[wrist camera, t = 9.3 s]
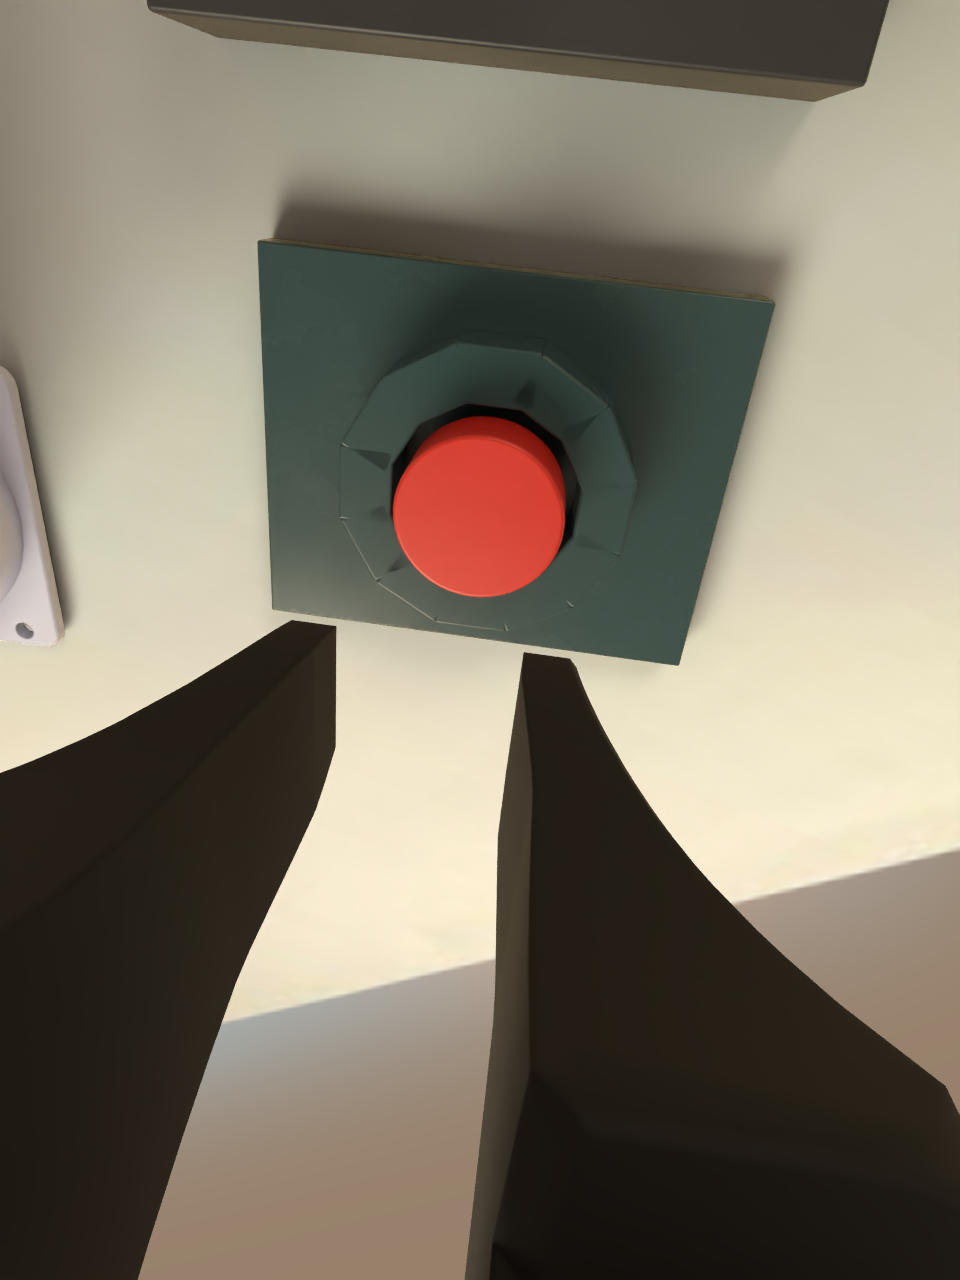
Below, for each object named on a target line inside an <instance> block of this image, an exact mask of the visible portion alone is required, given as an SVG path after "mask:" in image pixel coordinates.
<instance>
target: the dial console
mask: <svg viewBox="0 0 960 1280" xmlns="http://www.w3.org/2000/svg"><path fill="white" fill-rule="evenodd" d="M888 3H889V0H147V5H148V8H149V10H151V11H152V12H154V13H157V14H160V15H162V16H165V17H167V18H170V19H172V20H175V21H177V22H180V23H183V24H185V25H188V26H190V27H193V28H195V29H198V30H200V31H203V32H206V33H208V34H211V35H213V36H216V37H219V38H229V39H238V40H247V41H256V42H266V43H275V44H284V45H293V46H303V47H312V48H321V49H331V50H340V51H349V52H358V53H368V54H377V55H386V56H396V57H405V58H414V59H423V60H433V61H442V62H451V63H460V64H470V65H479V66H488V67H498V68H507V69H516V70H525V71H535V72H544V73H553V74H562V75H572V76H581V77H590V78H600V79H609V80H618V81H627V82H637V83H646V84H655V85H664V86H674V87H683V88H692V89H702V90H711V91H720V92H729V93H739V94H748V95H757V96H766V97H776V98H785V99H794V100H804V101H813V102H815V101H818V100H822V99H825V98H828V97H831V96H834V95H837V94H840V93H843V92H846V91H849V90H853V89H856V88H859V87H862V86H864V84H865V83H866V81H867V77H868V74H869V70H870V67H871V63H872V60H873V56H874V53H875V49H876V46H877V42H878V39H879V35H880V31H881V28H882V24H883V21H884V17H885V14H886V10H887V7H888Z"/></svg>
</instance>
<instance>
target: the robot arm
mask: <svg viewBox="0 0 960 1280" xmlns="http://www.w3.org/2000/svg"><path fill="white" fill-rule="evenodd" d="M24 623H25V624H28V625H29V626H30V627H31V628H32V630H33V631H30V630H29V629H28V628H26V626H25V624H24ZM64 634H65V629H64V624H63V619H62V613H61V608H60V603H59V598H58V593H57V588H56V583H55V578H54V572H53V567H52V562H51V557H50V552H49V547H48V542H47V536H46V531H45V526H44V521H43V516H42V511H41V506H40V501H39V495H38V490H37V485H36V480H35V475H34V470H33V465H32V459H31V454H30V449H29V444H28V439H27V434H26V429H25V424H24V418H23V413H22V408H21V403H20V398H19V393H18V388H17V385H16V382H15V379H14V378H13V376H12V375H11V374H10V372H9V371H7V370H6V369H5V368H3V367H2V366H0V641H7V642H14V643H21V644H28V645H35V646H42V647H52V646H54V645H56V644H57V643H58V642H59V641H60V640H62V638H63V637H64ZM335 747H336V626H330V625H323V624H316V623H309V622H302V621H294V620H291V621H289V622H288V623H286V624H284V625H282V626H280V627H279V628H277V629H275V630H274V631H272V632H271V633H269V634H267V635H266V636H264V637H263V638H261V639H259V640H258V641H256V642H255V643H253V644H252V645H250V646H248V647H247V648H245V649H244V650H242V651H240V652H239V653H237V654H236V655H234V656H233V657H231V658H229V659H228V660H226V661H224V662H223V663H221V664H220V665H218V666H216V667H215V668H213V669H211V670H210V671H208V672H206V673H205V674H203V675H202V676H200V677H198V678H197V679H195V680H193V681H192V682H190V683H188V684H187V685H185V686H183V687H181V688H180V689H178V690H176V691H174V692H172V693H170V694H169V695H167V696H165V697H163V698H161V699H159V700H158V701H156V702H154V703H152V704H150V705H149V706H147V707H145V708H143V709H141V710H139V711H138V712H136V713H134V714H132V715H130V716H128V717H127V718H125V719H123V720H121V721H119V722H117V723H115V724H113V725H111V726H109V727H107V728H105V729H103V730H101V731H99V732H97V733H94V734H92V735H90V736H88V737H86V738H84V739H82V740H79V741H77V742H75V743H73V744H70V745H68V746H66V747H63V748H61V749H59V750H57V751H54V752H52V753H50V754H47V755H45V756H43V757H41V758H38V759H36V760H33V761H31V762H28V763H26V764H23V765H21V766H18V767H15V768H13V769H10V770H7V771H4V772H2V773H0V1280H138V1277H139V1273H140V1270H141V1267H142V1263H143V1260H144V1257H145V1253H146V1250H147V1246H148V1243H149V1240H150V1237H151V1234H152V1231H153V1228H154V1225H155V1221H156V1218H157V1215H158V1212H159V1209H160V1206H161V1202H162V1199H163V1196H164V1193H165V1190H166V1187H167V1184H168V1181H169V1177H170V1174H171V1171H172V1168H173V1165H174V1162H175V1159H176V1155H177V1152H178V1149H179V1146H180V1143H181V1139H182V1136H183V1133H184V1131H185V1128H186V1125H187V1122H188V1119H189V1116H190V1113H191V1110H192V1107H193V1104H194V1101H195V1098H196V1095H197V1092H198V1089H199V1086H200V1083H201V1081H202V1078H203V1075H204V1071H205V1068H206V1066H207V1063H208V1060H209V1057H210V1054H211V1051H212V1048H213V1046H214V1043H215V1040H216V1037H217V1034H218V1032H219V1029H220V1026H221V1023H222V1020H223V1017H224V1015H225V1012H226V1009H227V1006H228V1003H229V1001H230V998H231V995H232V992H233V989H234V987H235V984H236V981H237V979H238V977H239V974H240V972H241V969H242V967H243V965H244V962H245V960H246V958H247V955H248V953H249V950H250V948H251V946H252V944H253V942H254V940H255V938H256V936H257V934H258V931H259V929H260V927H261V925H262V923H263V921H264V919H265V917H266V915H267V912H268V910H269V908H270V906H271V904H272V902H273V900H274V898H275V896H276V893H277V891H278V889H279V887H280V885H281V883H282V881H283V879H284V877H285V875H286V872H287V870H288V868H289V866H290V864H291V862H292V860H293V858H294V856H295V853H296V851H297V849H298V847H299V845H300V843H301V841H302V838H303V836H304V834H305V832H306V830H307V828H308V826H309V823H310V821H311V819H312V817H313V815H314V812H315V810H316V807H317V804H318V801H319V798H320V795H321V792H322V789H323V786H324V783H325V780H326V777H327V774H328V770H329V767H330V764H331V760H332V757H333V754H334V751H335ZM495 977H496V979H495V1002H494V1020H493V1030H492V1039H491V1048H490V1058H489V1067H488V1076H487V1086H486V1094H485V1104H484V1112H483V1122H482V1130H481V1131H482V1132H481V1139H480V1148H479V1157H478V1166H477V1176H476V1184H475V1193H474V1202H473V1211H472V1220H471V1228H470V1229H471V1230H470V1238H469V1246H468V1255H467V1263H466V1264H467V1265H466V1273H465V1280H960V1115H959V1113H958V1111H957V1109H956V1107H955V1105H954V1103H953V1101H952V1098H951V1096H950V1094H949V1092H948V1090H947V1088H946V1086H945V1085H944V1084H942V1083H941V1082H939V1081H938V1080H937V1079H936V1078H934V1077H933V1076H932V1075H930V1074H929V1073H928V1072H926V1071H925V1070H924V1069H923V1068H921V1067H920V1066H919V1065H918V1064H916V1063H915V1062H914V1061H912V1060H911V1059H910V1058H908V1057H907V1056H906V1055H905V1054H903V1053H902V1052H901V1051H899V1050H898V1049H897V1048H895V1047H894V1046H892V1044H890V1043H889V1042H888V1041H886V1040H885V1039H884V1038H883V1037H881V1036H880V1035H879V1034H877V1033H876V1032H875V1031H873V1030H872V1029H871V1028H870V1027H868V1026H867V1025H866V1024H864V1023H863V1022H862V1021H860V1020H859V1019H858V1018H857V1017H855V1016H854V1015H853V1014H851V1013H850V1012H849V1011H847V1010H846V1009H845V1008H844V1007H843V1006H841V1005H840V1004H839V1003H838V1002H836V1001H835V1000H834V999H833V998H832V997H831V996H829V995H828V994H827V993H826V992H825V991H824V990H823V989H821V988H820V987H819V986H818V985H817V984H816V983H814V982H813V981H812V980H811V979H810V978H809V977H808V976H807V975H805V974H804V973H803V972H802V971H801V970H799V968H797V967H796V966H795V965H794V964H793V963H792V962H790V961H789V960H788V959H787V958H786V957H785V956H784V955H783V954H781V952H779V951H778V950H777V949H776V948H775V947H774V946H773V945H772V944H771V943H770V942H769V941H768V940H767V939H766V938H765V937H763V935H761V934H760V933H759V932H758V931H757V930H756V929H755V928H754V927H753V926H752V925H751V924H750V923H749V922H748V921H747V920H746V919H745V918H744V917H743V916H742V914H740V912H739V911H738V910H737V909H736V908H735V907H734V906H733V905H732V904H731V903H730V902H729V901H728V900H727V899H726V898H725V897H724V896H723V895H722V894H721V893H720V892H719V891H718V890H717V889H716V888H715V887H714V886H713V885H712V884H711V882H710V881H709V880H708V879H707V878H706V877H705V876H704V875H703V873H702V872H701V871H700V870H699V869H698V868H697V867H696V865H695V864H694V863H693V862H692V861H691V859H690V858H689V857H688V856H687V854H686V853H685V852H684V851H683V849H682V848H681V847H680V846H679V844H678V843H677V842H676V841H675V839H674V838H673V837H672V836H671V834H670V833H669V832H668V830H667V829H666V828H665V826H664V825H663V824H662V822H661V821H660V819H659V818H658V817H657V815H656V814H655V812H654V811H653V810H652V808H651V807H650V805H649V804H648V802H647V801H646V799H645V798H644V796H643V795H642V793H641V792H640V790H639V789H638V787H637V786H636V784H635V783H634V781H633V779H632V778H631V776H630V775H629V773H628V771H627V770H626V768H625V766H624V765H623V763H622V761H621V760H620V758H619V756H618V754H617V753H616V751H615V749H614V747H613V745H612V744H611V742H610V740H609V738H608V737H607V735H606V733H605V731H604V729H603V727H602V725H601V723H600V721H599V720H598V718H597V715H596V713H595V711H594V709H593V707H592V705H591V703H590V701H589V699H588V696H587V694H586V692H585V689H584V687H583V685H582V682H581V679H580V677H579V674H578V671H577V668H576V666H575V665H574V664H573V662H572V661H571V660H570V659H568V658H561V657H554V656H547V655H539V654H532V653H525V652H524V654H523V661H522V668H521V675H520V681H519V688H518V695H517V702H516V709H515V715H514V722H513V729H512V736H511V743H510V749H509V756H508V763H507V770H506V777H505V785H504V793H503V801H502V809H501V816H500V824H499V832H498V858H497V914H496V976H495Z"/></svg>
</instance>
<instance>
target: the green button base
mask: <svg viewBox="0 0 960 1280" xmlns="http://www.w3.org/2000/svg"><path fill="white" fill-rule="evenodd" d="M258 266H259V291H260V315H261V340H262V365H263V389H264V414H265V439H266V463H267V488H268V513H269V537H270V562H271V587H272V609H273V610H279V611H286V612H293V613H301V614H308V615H315V616H322V617H330V618H337V619H344V620H351V621H358V622H366V623H373V624H380V625H387V626H395V627H402V628H409V629H416V630H424V631H431V632H438V633H445V634H452V635H460V636H467V637H474V638H481V639H489V640H496V641H503V642H510V643H518V644H525V645H532V646H539V647H546V648H554V649H561V650H568V651H575V652H583V653H590V654H597V655H604V656H611V657H619V658H626V659H633V660H640V661H648V662H655V663H662V664H669V665H677V666H678V665H679V663H680V660H681V656H682V652H683V648H684V645H685V641H686V637H687V633H688V630H689V626H690V622H691V618H692V615H693V611H694V607H695V603H696V600H697V596H698V592H699V588H700V585H701V581H702V577H703V573H704V570H705V566H706V562H707V558H708V555H709V551H710V547H711V543H712V540H713V536H714V532H715V528H716V525H717V521H718V517H719V513H720V510H721V506H722V502H723V498H724V495H725V491H726V487H727V483H728V480H729V476H730V472H731V468H732V465H733V461H734V457H735V453H736V450H737V446H738V442H739V438H740V435H741V431H742V427H743V423H744V420H745V416H746V412H747V408H748V405H749V401H750V397H751V393H752V390H753V386H754V382H755V378H756V374H757V371H758V367H759V363H760V359H761V356H762V352H763V348H764V344H765V341H766V337H767V333H768V329H769V326H770V322H771V318H772V314H773V311H774V307H775V302H774V301H772V300H771V299H769V298H768V297H766V296H759V295H751V294H742V293H734V292H726V291H717V290H709V289H700V288H692V287H683V286H675V285H666V284H658V283H650V282H641V281H633V280H624V279H616V278H607V277H599V276H590V275H582V274H573V273H565V272H557V271H548V270H540V269H531V268H523V267H514V266H506V265H497V264H489V263H480V262H472V261H464V260H455V259H447V258H438V257H430V256H421V255H413V254H404V253H396V252H387V251H379V250H371V249H362V248H354V247H345V246H337V245H328V244H320V243H311V242H303V241H294V240H286V239H278V238H269V239H264V240H259V241H258ZM476 416H489V417H497V418H502V419H506V420H509V421H512V422H515V423H517V424H519V425H521V426H523V427H525V428H526V429H528V430H530V431H531V432H533V433H534V434H535V435H536V436H537V437H539V438H540V439H541V440H542V441H543V442H544V443H545V444H546V445H547V447H548V448H549V449H550V450H551V452H552V453H553V455H554V456H555V458H556V460H557V462H558V464H559V466H560V468H561V471H562V474H563V478H564V483H565V491H566V506H565V526H564V533H563V538H562V542H561V544H560V547H559V549H558V552H557V554H556V555H555V557H554V559H553V561H552V562H551V563H550V565H549V566H548V567H547V569H546V570H545V571H544V572H543V573H542V574H541V575H540V576H539V577H537V578H536V579H535V580H533V581H532V582H531V583H529V584H528V585H526V586H524V587H522V588H520V589H518V590H516V591H513V592H511V593H507V594H504V595H499V596H493V597H470V596H465V595H460V594H457V593H454V592H450V591H448V590H446V589H444V588H441V587H439V586H438V585H436V584H434V583H433V582H431V581H430V580H428V579H427V578H426V577H424V576H423V575H422V574H421V573H420V572H419V571H418V570H417V569H416V568H415V567H414V566H413V565H412V563H411V562H410V561H409V559H408V558H407V556H406V555H405V553H404V551H403V550H402V548H401V546H400V543H399V541H398V538H397V535H396V532H395V527H394V521H393V503H394V497H395V493H396V489H397V486H398V484H399V481H400V479H401V477H402V475H403V473H404V472H405V470H406V468H407V467H408V465H409V463H410V462H411V460H412V458H413V456H414V455H415V453H416V451H417V450H418V448H419V447H420V446H421V445H422V443H423V442H424V441H425V440H426V439H427V438H428V437H429V436H430V435H431V434H432V433H434V432H435V431H437V430H438V429H439V428H441V427H443V426H445V425H447V424H449V423H451V422H454V421H456V420H459V419H463V418H468V417H476Z"/></svg>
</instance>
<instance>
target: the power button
mask: <svg viewBox="0 0 960 1280" xmlns="http://www.w3.org/2000/svg"><path fill="white" fill-rule="evenodd" d="M565 506H566V491H565V483H564V478H563V474H562V471H561V468H560V466H559V464H558V462H557V460H556V458H555V456H554V455H553V453H552V452H551V450H550V449H549V448H548V447H547V445H546V444H545V443H544V442H543V441H542V440H541V439H540V438H539V437H537V436H536V435H535V434H534V433H533V432H531V431H530V430H528V429H526V428H525V427H523V426H521V425H519V424H517V423H515V422H512V421H509V420H506V419H502V418H497V417H489V416H476V417H468V418H463V419H459V420H456V421H454V422H451V423H449V424H447V425H445V426H443V427H441V428H439V429H438V430H437V431H435V432H434V433H432V434H431V435H430V436H429V437H428V438H427V439H426V440H425V441H424V442H423V443H422V445H421V446H420V447H419V448H418V450H417V451H416V453H415V455H414V456H413V458H412V460H411V462H410V463H409V465H408V467H407V468H406V470H405V472H404V473H403V475H402V477H401V479H400V481H399V484H398V486H397V489H396V493H395V497H394V503H393V521H394V527H395V532H396V535H397V538H398V541H399V543H400V546H401V548H402V550H403V551H404V553H405V555H406V556H407V558H408V559H409V561H410V562H411V563H412V565H413V566H414V567H415V568H416V569H417V570H418V571H419V572H420V573H421V574H422V575H423V576H424V577H426V578H427V579H428V580H430V581H431V582H433V583H434V584H436V585H438V586H439V587H441V588H444V589H446V590H448V591H450V592H454V593H457V594H460V595H465V596H470V597H493V596H499V595H504V594H507V593H511V592H513V591H516V590H518V589H520V588H522V587H524V586H526V585H528V584H529V583H531V582H532V581H533V580H535V579H536V578H537V577H539V576H540V575H541V574H542V573H543V572H544V571H545V570H546V569H547V567H548V566H549V565H550V563H551V562H552V561H553V559H554V557H555V555H556V554H557V552H558V549H559V547H560V544H561V542H562V538H563V533H564V526H565Z"/></svg>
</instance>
